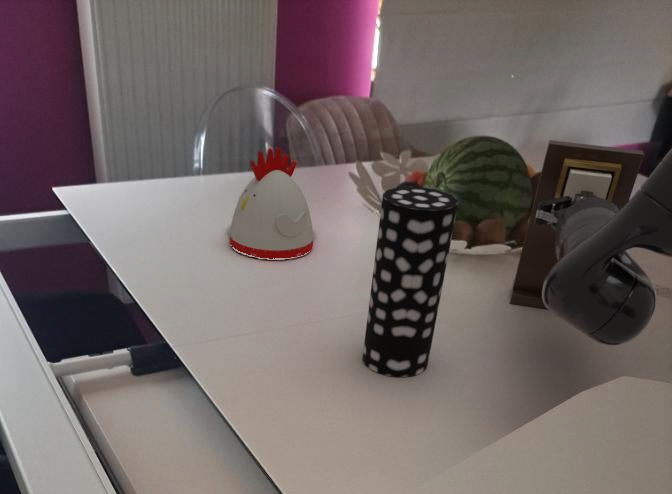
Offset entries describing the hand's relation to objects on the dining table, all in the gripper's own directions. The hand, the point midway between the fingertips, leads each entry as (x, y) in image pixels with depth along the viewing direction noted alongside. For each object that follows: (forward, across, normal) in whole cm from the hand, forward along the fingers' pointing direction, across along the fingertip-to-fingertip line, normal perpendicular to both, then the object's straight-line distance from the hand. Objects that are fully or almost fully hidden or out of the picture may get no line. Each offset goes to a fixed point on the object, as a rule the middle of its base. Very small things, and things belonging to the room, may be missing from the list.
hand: (584, 199), depth 98 cm
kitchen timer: (+10, +46, +16) cm, 50 cm away
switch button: (+1, 0, +3) cm, 3 cm away
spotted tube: (-23, +20, +16) cm, 34 cm away
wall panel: (+4, 0, +16) cm, 16 cm away
